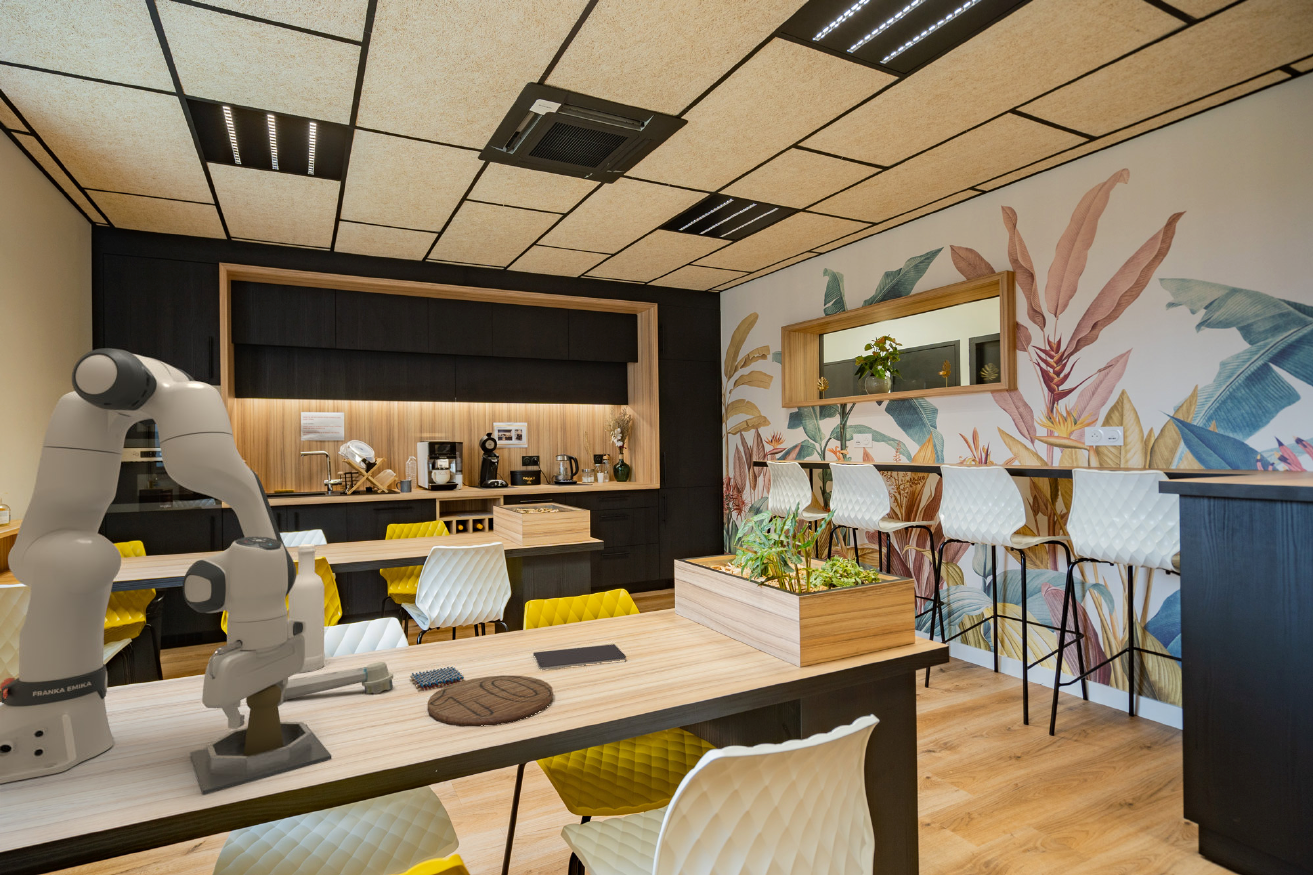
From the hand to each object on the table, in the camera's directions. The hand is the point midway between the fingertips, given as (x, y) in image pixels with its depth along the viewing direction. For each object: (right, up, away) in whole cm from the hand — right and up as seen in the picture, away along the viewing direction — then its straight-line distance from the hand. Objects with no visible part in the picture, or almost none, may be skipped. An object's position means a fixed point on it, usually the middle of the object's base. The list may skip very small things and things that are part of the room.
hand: (256, 716), depth 113 cm
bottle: (-18, -9, +50) cm, 54 cm away
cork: (0, -7, +1) cm, 7 cm away
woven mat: (+18, -9, +39) cm, 44 cm away
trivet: (+34, -8, +25) cm, 42 cm away
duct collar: (0, -7, 0) cm, 7 cm away
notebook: (+48, -9, +54) cm, 73 cm away
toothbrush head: (-3, -9, +31) cm, 32 cm away
